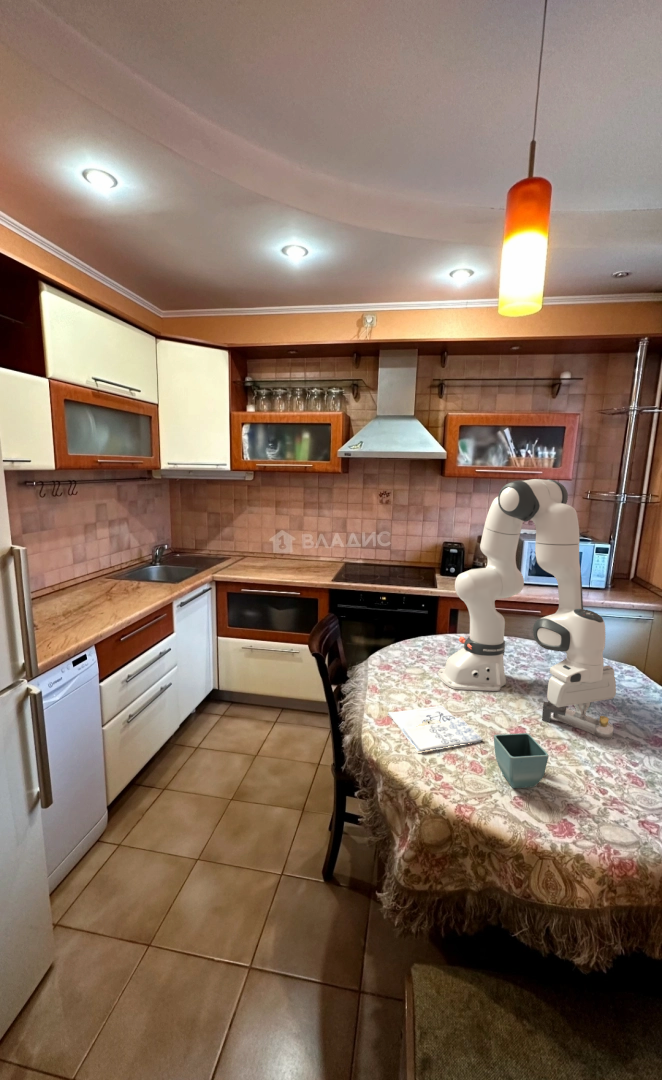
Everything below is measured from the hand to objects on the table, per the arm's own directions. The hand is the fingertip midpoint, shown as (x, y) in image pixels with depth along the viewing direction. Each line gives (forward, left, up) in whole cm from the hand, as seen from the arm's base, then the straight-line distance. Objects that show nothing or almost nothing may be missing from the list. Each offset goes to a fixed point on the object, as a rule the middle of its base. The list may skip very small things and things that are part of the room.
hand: (580, 716), depth 122 cm
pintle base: (-2, -3, -3) cm, 4 cm away
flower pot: (-29, -19, -3) cm, 35 cm away
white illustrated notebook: (-41, +4, -4) cm, 42 cm away
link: (-1, -3, -2) cm, 3 cm away
